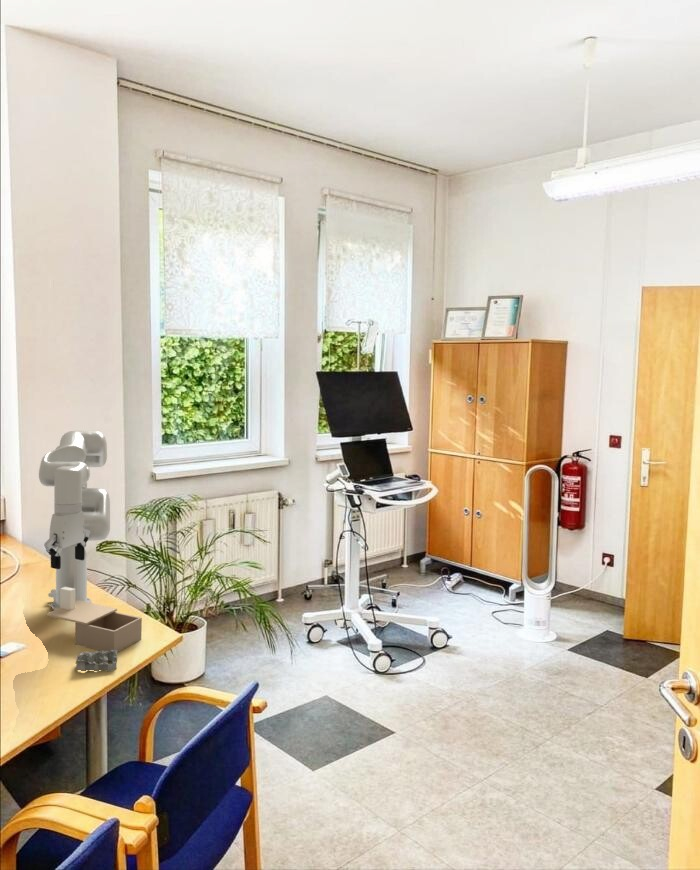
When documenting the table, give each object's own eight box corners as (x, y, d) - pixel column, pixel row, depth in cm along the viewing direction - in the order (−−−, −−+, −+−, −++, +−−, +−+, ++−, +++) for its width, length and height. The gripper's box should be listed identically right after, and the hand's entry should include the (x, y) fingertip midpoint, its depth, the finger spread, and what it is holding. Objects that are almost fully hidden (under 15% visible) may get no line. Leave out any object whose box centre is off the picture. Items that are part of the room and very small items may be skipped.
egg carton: (74, 675, 187) (74, 660, 187) (77, 663, 194) (77, 648, 194) (116, 672, 190) (116, 658, 189) (118, 660, 197) (118, 646, 197)
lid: (46, 615, 208) (46, 593, 207) (78, 602, 220) (78, 581, 219) (86, 625, 203) (86, 602, 202) (117, 610, 215) (117, 589, 214)
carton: (75, 644, 206) (75, 622, 205) (103, 630, 217) (104, 609, 216) (114, 654, 200) (114, 631, 200) (141, 639, 212) (141, 617, 211)
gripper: (79, 501, 219) (79, 554, 222) (35, 512, 203) (35, 569, 206) (98, 504, 217) (98, 558, 219) (55, 515, 201) (55, 574, 203)
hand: (67, 563), depth 212 cm, fingers open, 9 cm apart
